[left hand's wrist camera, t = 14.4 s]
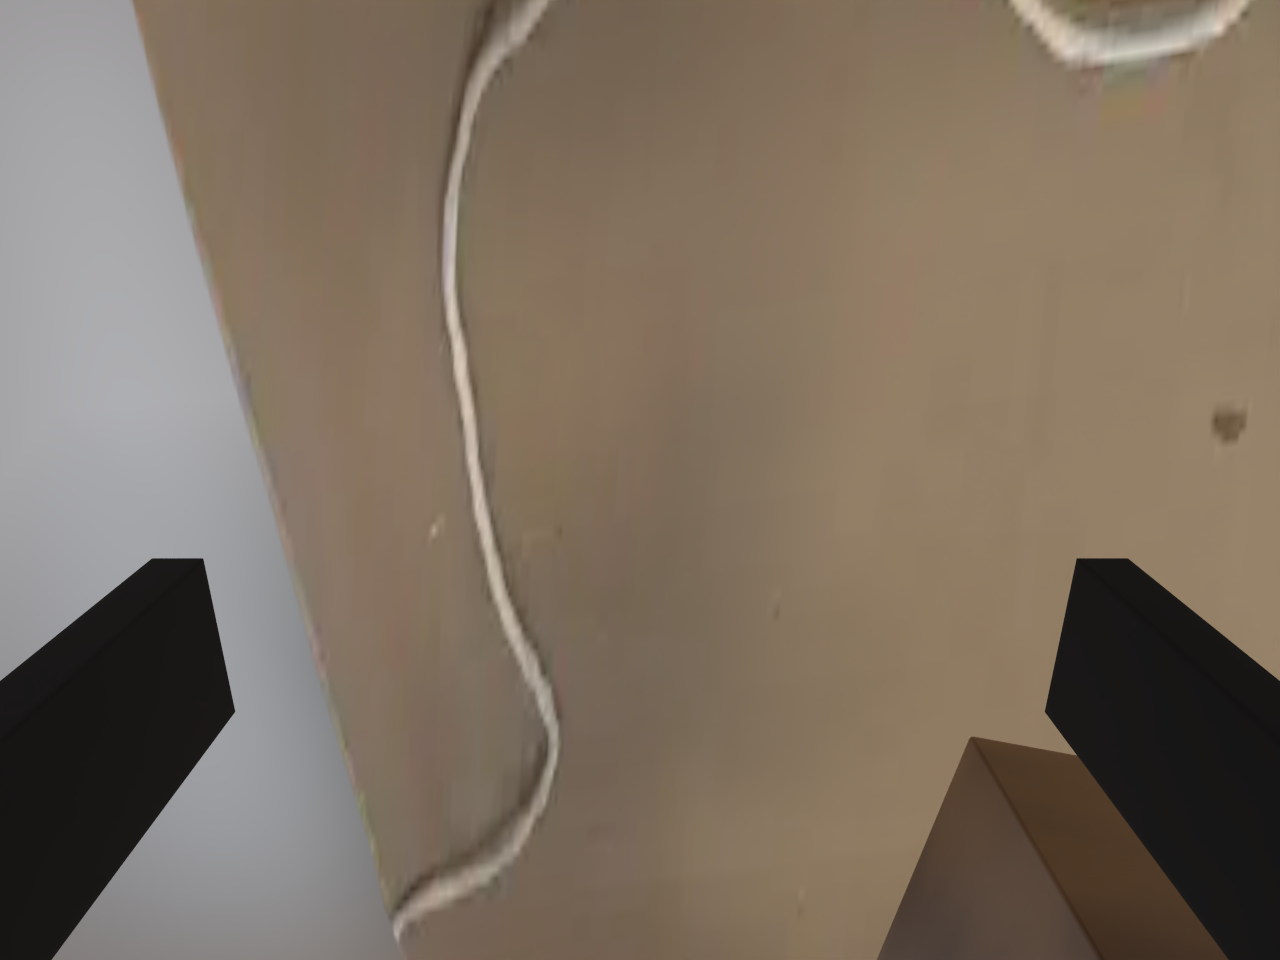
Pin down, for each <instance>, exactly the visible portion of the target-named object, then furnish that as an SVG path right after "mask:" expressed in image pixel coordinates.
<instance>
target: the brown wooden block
mask: <svg viewBox="0 0 1280 960" xmlns="http://www.w3.org/2000/svg"><path fill="white" fill-rule="evenodd" d="M877 960H1228V958H1227V957H1226V956H1225V954H1224V953H1223V952H1222V950H1221V949H1220V948H1219V946H1218V945H1217V943H1216V942H1215V941H1214V939H1213V938H1212V937H1211V935H1210V934H1209V933H1208V931H1207V930H1206V929H1205V927H1204V926H1203V925H1202V923H1201V922H1200V921H1199V919H1198V918H1197V916H1196V915H1195V914H1194V912H1193V911H1192V910H1191V908H1190V907H1189V906H1188V904H1187V903H1186V902H1185V900H1184V899H1183V898H1182V896H1181V895H1180V893H1179V892H1178V891H1177V889H1176V888H1175V887H1174V885H1173V884H1172V883H1171V881H1170V880H1169V879H1168V877H1167V876H1166V875H1165V873H1164V872H1163V871H1162V869H1161V868H1160V866H1159V865H1158V864H1157V862H1156V861H1155V860H1154V858H1153V857H1152V856H1151V854H1150V853H1149V852H1148V850H1147V849H1146V848H1145V846H1144V845H1143V844H1142V842H1141V841H1140V839H1139V838H1138V837H1137V835H1136V834H1135V833H1134V831H1133V830H1132V829H1131V827H1130V826H1129V825H1128V823H1127V822H1126V821H1125V819H1124V818H1123V817H1122V815H1121V814H1120V812H1119V811H1118V810H1117V808H1116V807H1115V806H1114V804H1113V803H1112V802H1111V800H1110V799H1109V798H1108V796H1107V795H1106V794H1105V792H1104V791H1103V790H1102V788H1101V787H1100V785H1099V784H1098V783H1097V781H1096V780H1095V779H1094V777H1093V776H1092V775H1091V773H1090V772H1089V771H1088V769H1087V768H1086V767H1085V765H1084V764H1083V763H1082V761H1081V760H1080V758H1079V757H1078V756H1076V755H1071V754H1065V753H1060V752H1054V751H1049V750H1043V749H1038V748H1033V747H1027V746H1022V745H1016V744H1011V743H1005V742H1000V741H994V740H989V739H984V738H978V737H971V738H969V741H968V743H967V746H966V748H965V750H964V753H963V755H962V758H961V760H960V762H959V765H958V767H957V770H956V772H955V774H954V777H953V779H952V781H951V784H950V786H949V789H948V791H947V793H946V796H945V798H944V801H943V803H942V805H941V808H940V810H939V813H938V815H937V817H936V820H935V822H934V825H933V827H932V829H931V832H930V834H929V836H928V839H927V841H926V844H925V846H924V848H923V851H922V853H921V856H920V858H919V860H918V863H917V865H916V868H915V870H914V872H913V875H912V877H911V879H910V882H909V884H908V887H907V889H906V891H905V894H904V896H903V899H902V901H901V903H900V906H899V908H898V911H897V913H896V915H895V918H894V920H893V922H892V925H891V927H890V930H889V932H888V934H887V937H886V939H885V942H884V944H883V946H882V949H881V951H880V954H879V956H878V958H877Z"/></svg>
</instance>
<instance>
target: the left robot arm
mask: <svg viewBox="0 0 1280 960" xmlns="http://www.w3.org/2000/svg"><path fill="white" fill-rule="evenodd" d="M234 713H235V709H234V704H233V699H232V695H231V690H230V685H229V680H228V675H227V671H226V666H225V661H224V656H223V651H222V647H221V642H220V637H219V632H218V627H217V623H216V618H215V613H214V608H213V603H212V599H211V594H210V589H209V584H208V579H207V575H206V570H205V565H204V560H203V559H151V560H150V561H148V562H147V563H146V564H145V565H144V566H142V567H141V568H140V569H139V570H137V571H136V572H135V573H134V574H132V575H131V576H130V577H129V578H127V579H126V580H125V581H124V582H122V583H121V584H120V585H119V586H117V587H116V588H115V589H114V590H113V591H111V592H110V593H109V594H108V595H106V596H105V597H104V598H103V599H101V600H100V601H99V602H98V603H96V604H95V605H94V606H93V607H91V608H90V609H89V610H88V611H87V612H85V613H84V614H83V615H82V616H80V617H79V618H78V619H77V620H75V621H74V622H73V623H72V624H70V625H69V626H68V627H67V628H65V629H64V630H63V631H62V632H60V633H59V634H58V635H57V636H56V637H54V638H53V639H52V640H51V641H49V642H48V643H47V644H46V645H44V646H43V647H42V648H41V649H39V650H38V651H37V652H36V653H34V654H33V655H32V656H31V657H29V658H28V659H27V660H26V661H24V662H23V663H22V664H21V665H20V666H18V667H17V668H16V669H15V670H13V671H12V672H11V673H10V674H8V675H7V676H6V677H5V678H3V679H2V680H1V681H0V960H52V958H53V957H54V956H55V954H56V953H57V952H58V950H59V949H60V948H61V946H62V945H63V943H64V942H65V941H66V939H67V938H68V937H69V935H70V934H71V933H72V931H73V930H74V929H75V927H76V926H77V925H78V923H79V922H80V920H81V919H82V918H83V916H84V915H85V914H86V912H87V911H88V910H89V908H90V907H91V906H92V904H93V903H94V902H95V900H96V899H97V898H98V896H99V895H100V893H101V892H102V891H103V889H104V888H105V887H106V885H107V884H108V883H109V881H110V880H111V879H112V877H113V876H114V875H115V873H116V872H117V871H118V869H119V868H120V866H121V865H122V864H123V862H124V861H125V860H126V858H127V857H128V856H129V854H130V853H131V852H132V850H133V849H134V848H135V846H136V845H137V844H138V842H139V841H140V839H141V838H142V837H143V835H144V834H145V833H146V831H147V830H148V829H149V827H150V826H151V825H152V823H153V822H154V821H155V819H156V818H157V817H158V815H159V814H160V812H161V811H162V810H163V808H164V807H165V806H166V804H167V803H168V802H169V800H170V799H171V798H172V796H173V795H174V793H175V792H176V791H177V789H178V788H179V787H180V785H181V784H182V783H183V781H184V780H185V779H186V777H187V776H188V775H189V773H190V772H191V771H192V769H193V768H194V767H195V765H196V764H197V762H198V761H199V760H200V758H201V757H202V756H203V754H204V753H205V752H206V750H207V749H208V748H209V746H210V745H211V744H212V742H213V741H214V740H215V738H216V737H217V735H218V734H219V733H220V731H221V730H222V729H223V727H224V726H225V725H226V723H227V722H228V721H229V719H230V718H231V717H232V715H233V714H234ZM1045 713H1046V714H1047V715H1048V717H1049V718H1050V719H1051V721H1052V722H1053V723H1054V725H1055V726H1056V727H1057V729H1058V730H1059V731H1060V733H1061V734H1062V736H1063V737H1064V738H1065V740H1066V741H1067V742H1068V744H1069V745H1070V746H1071V748H1072V749H1073V750H1074V752H1075V753H1076V754H1077V756H1078V757H1079V758H1080V760H1081V761H1082V763H1083V764H1084V765H1085V767H1086V768H1087V769H1088V771H1089V772H1090V773H1091V775H1092V776H1093V777H1094V779H1095V780H1096V781H1097V783H1098V784H1099V785H1100V787H1101V788H1102V790H1103V791H1104V792H1105V794H1106V795H1107V796H1108V798H1109V799H1110V800H1111V802H1112V803H1113V804H1114V806H1115V807H1116V808H1117V810H1118V811H1119V812H1120V814H1121V815H1122V817H1123V818H1124V819H1125V821H1126V822H1127V823H1128V825H1129V826H1130V827H1131V829H1132V830H1133V831H1134V833H1135V834H1136V835H1137V837H1138V838H1139V839H1140V841H1141V842H1142V844H1143V845H1144V846H1145V848H1146V849H1147V850H1148V852H1149V853H1150V854H1151V856H1152V857H1153V858H1154V860H1155V861H1156V862H1157V864H1158V865H1159V866H1160V868H1161V869H1162V871H1163V872H1164V873H1165V875H1166V876H1167V877H1168V879H1169V880H1170V881H1171V883H1172V884H1173V885H1174V887H1175V888H1176V889H1177V891H1178V892H1179V893H1180V895H1181V896H1182V898H1183V899H1184V900H1185V902H1186V903H1187V904H1188V906H1189V907H1190V908H1191V910H1192V911H1193V912H1194V914H1195V915H1196V916H1197V918H1198V919H1199V921H1200V922H1201V923H1202V925H1203V926H1204V927H1205V929H1206V930H1207V931H1208V933H1209V934H1210V935H1211V937H1212V938H1213V939H1214V941H1215V942H1216V943H1217V945H1218V946H1219V948H1220V949H1221V950H1222V952H1223V953H1224V954H1225V956H1226V957H1227V958H1228V960H1280V681H1279V680H1278V679H1277V678H1275V677H1274V676H1273V675H1272V674H1270V673H1269V672H1268V671H1267V670H1265V669H1264V668H1263V667H1262V666H1260V665H1259V664H1258V663H1257V662H1256V661H1254V660H1253V659H1252V658H1251V657H1249V656H1248V655H1247V654H1246V653H1244V652H1243V651H1242V650H1241V649H1239V648H1238V647H1237V646H1236V645H1234V644H1233V643H1232V642H1231V641H1229V640H1228V639H1227V638H1226V637H1225V636H1223V635H1222V634H1221V633H1220V632H1218V631H1217V630H1216V629H1215V628H1213V627H1212V626H1211V625H1210V624H1208V623H1207V622H1206V621H1205V620H1203V619H1202V618H1201V617H1200V616H1198V615H1197V614H1196V613H1195V612H1194V611H1192V610H1191V609H1190V608H1189V607H1187V606H1186V605H1185V604H1184V603H1182V602H1181V601H1180V600H1179V599H1177V598H1176V597H1175V596H1174V595H1172V594H1171V593H1170V592H1169V591H1167V590H1166V589H1165V588H1164V587H1163V586H1161V585H1160V584H1159V583H1158V582H1156V581H1155V580H1154V579H1153V578H1151V577H1150V576H1149V575H1148V574H1146V573H1145V572H1144V571H1143V570H1141V569H1140V568H1139V567H1138V566H1136V565H1135V564H1134V563H1133V562H1132V561H1130V560H1129V559H1077V560H1076V565H1075V570H1074V575H1073V579H1072V584H1071V589H1070V594H1069V599H1068V603H1067V608H1066V613H1065V618H1064V623H1063V627H1062V632H1061V637H1060V642H1059V646H1058V651H1057V656H1056V661H1055V666H1054V670H1053V675H1052V680H1051V685H1050V690H1049V694H1048V699H1047V704H1046V709H1045Z"/></svg>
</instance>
